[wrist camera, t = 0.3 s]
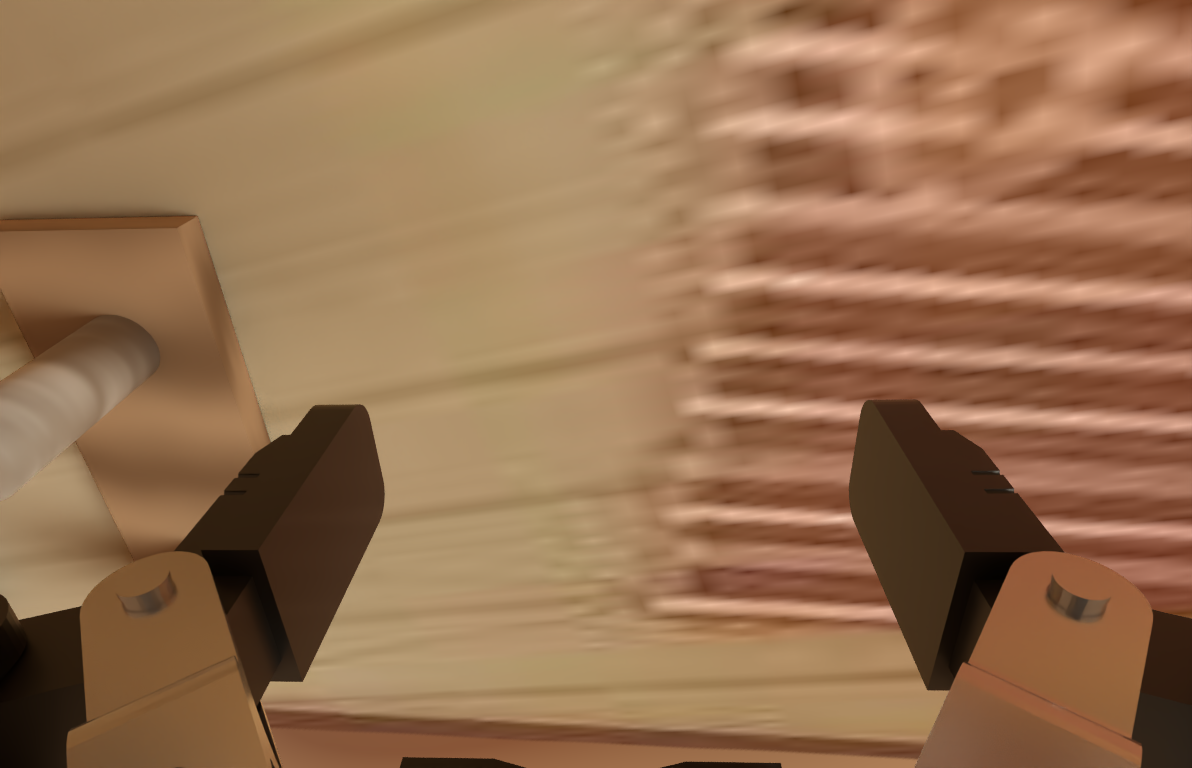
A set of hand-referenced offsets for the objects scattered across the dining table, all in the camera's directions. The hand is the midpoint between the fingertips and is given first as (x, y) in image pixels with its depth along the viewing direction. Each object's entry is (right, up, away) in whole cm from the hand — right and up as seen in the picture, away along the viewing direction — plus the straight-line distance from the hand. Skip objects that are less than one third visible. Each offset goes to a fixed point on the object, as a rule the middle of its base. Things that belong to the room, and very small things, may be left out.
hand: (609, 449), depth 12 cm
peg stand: (-19, -2, +22) cm, 29 cm away
